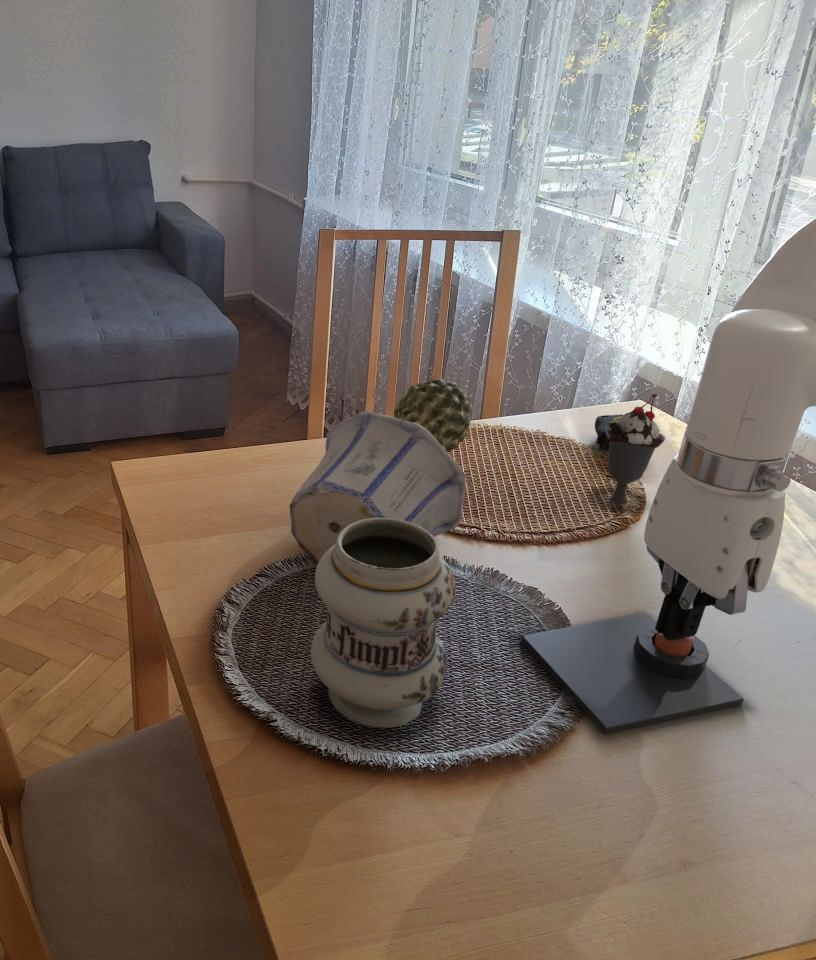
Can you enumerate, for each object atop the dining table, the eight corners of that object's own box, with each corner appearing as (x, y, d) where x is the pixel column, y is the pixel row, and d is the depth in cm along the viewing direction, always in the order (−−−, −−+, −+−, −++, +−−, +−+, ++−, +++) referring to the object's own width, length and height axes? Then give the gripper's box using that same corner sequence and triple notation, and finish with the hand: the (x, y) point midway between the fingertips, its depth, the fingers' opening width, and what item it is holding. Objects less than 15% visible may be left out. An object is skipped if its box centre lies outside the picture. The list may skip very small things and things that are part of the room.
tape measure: (591, 432, 128) (596, 409, 126) (643, 438, 125) (648, 415, 124) (593, 453, 122) (598, 429, 120) (647, 459, 120) (653, 435, 118)
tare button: (674, 634, 83) (678, 621, 82) (697, 654, 80) (701, 641, 80) (647, 639, 83) (650, 627, 82) (669, 659, 80) (673, 647, 79)
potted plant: (415, 507, 83) (524, 347, 100) (259, 466, 93) (381, 327, 110) (422, 627, 94) (520, 464, 110) (282, 578, 104) (390, 436, 121)
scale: (645, 623, 89) (652, 599, 87) (743, 711, 78) (754, 684, 76) (519, 647, 86) (524, 622, 85) (602, 741, 75) (610, 714, 74)
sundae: (648, 499, 111) (676, 391, 103) (642, 523, 106) (672, 412, 98) (592, 487, 114) (616, 382, 106) (585, 511, 109) (609, 402, 101)
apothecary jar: (325, 648, 87) (335, 495, 79) (447, 676, 83) (472, 518, 74) (293, 730, 78) (300, 567, 69) (429, 767, 74) (455, 597, 65)
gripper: (847, 497, 66) (773, 678, 75) (702, 418, 79) (654, 581, 88) (764, 510, 65) (699, 694, 74) (630, 428, 78) (589, 593, 86)
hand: (675, 632), depth 81 cm, fingers closed
